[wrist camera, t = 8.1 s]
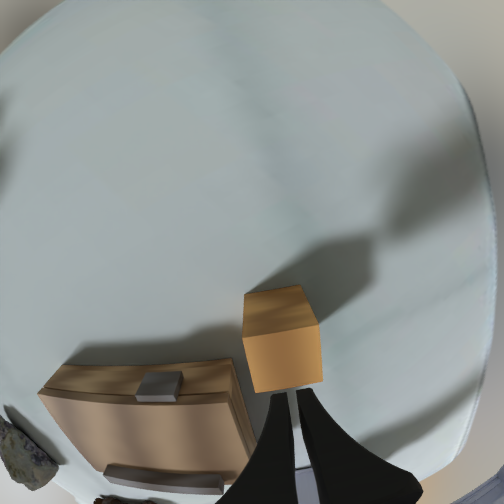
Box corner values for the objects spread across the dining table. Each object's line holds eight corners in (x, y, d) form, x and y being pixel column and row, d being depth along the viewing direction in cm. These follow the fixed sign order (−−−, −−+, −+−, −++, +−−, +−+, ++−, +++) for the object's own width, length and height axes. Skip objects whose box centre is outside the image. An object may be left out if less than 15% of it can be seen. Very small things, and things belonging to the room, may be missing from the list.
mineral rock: (-1, 404, 25) (-29, 437, 15) (43, 432, 26) (17, 474, 16) (22, 446, 28) (2, 477, 18) (65, 470, 29) (47, 506, 19)
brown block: (300, 284, 20) (318, 324, 14) (305, 332, 21) (322, 381, 15) (244, 294, 20) (242, 338, 14) (254, 341, 21) (255, 393, 15)
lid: (227, 366, 19) (222, 411, 14) (257, 459, 22) (258, 496, 17) (48, 369, 19) (24, 396, 15) (104, 453, 22) (92, 480, 18)
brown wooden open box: (231, 358, 21) (228, 390, 17) (257, 444, 24) (257, 473, 20) (62, 364, 22) (43, 386, 18) (110, 441, 24) (99, 463, 21)
